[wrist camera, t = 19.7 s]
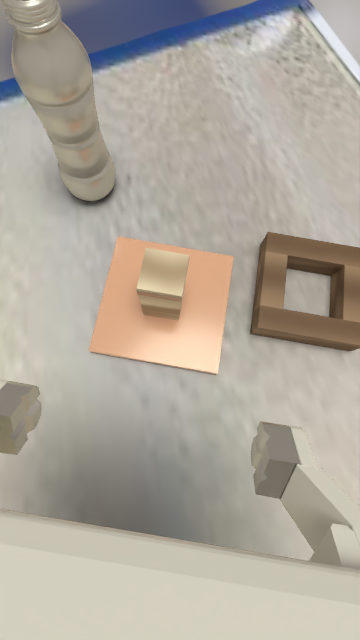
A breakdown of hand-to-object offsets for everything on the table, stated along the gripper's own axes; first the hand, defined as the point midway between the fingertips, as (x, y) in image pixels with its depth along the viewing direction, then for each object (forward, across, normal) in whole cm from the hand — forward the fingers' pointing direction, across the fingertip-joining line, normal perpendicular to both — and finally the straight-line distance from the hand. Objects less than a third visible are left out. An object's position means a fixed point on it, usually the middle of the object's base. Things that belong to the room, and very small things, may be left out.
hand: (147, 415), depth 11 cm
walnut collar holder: (+27, -14, +5) cm, 31 cm away
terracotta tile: (+24, +2, +7) cm, 25 cm away
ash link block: (+24, +2, +6) cm, 24 cm away
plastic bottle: (+34, +14, -3) cm, 37 cm away
